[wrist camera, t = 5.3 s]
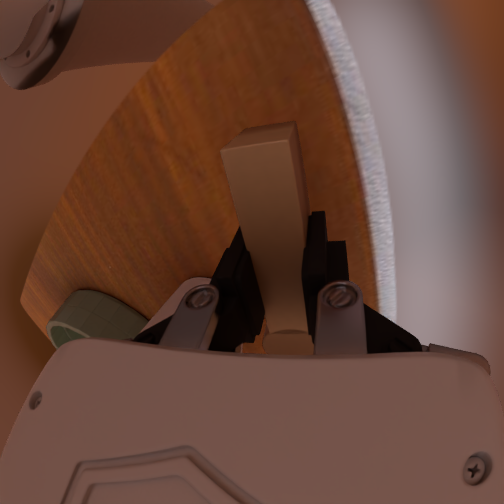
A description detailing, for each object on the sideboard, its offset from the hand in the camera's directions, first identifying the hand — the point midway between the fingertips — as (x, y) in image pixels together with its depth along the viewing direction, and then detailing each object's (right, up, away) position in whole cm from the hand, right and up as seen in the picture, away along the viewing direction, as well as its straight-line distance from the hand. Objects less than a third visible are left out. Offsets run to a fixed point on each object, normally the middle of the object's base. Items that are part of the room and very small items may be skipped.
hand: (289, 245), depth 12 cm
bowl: (-19, -12, +22) cm, 32 cm away
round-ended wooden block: (0, 0, +1) cm, 1 cm away
